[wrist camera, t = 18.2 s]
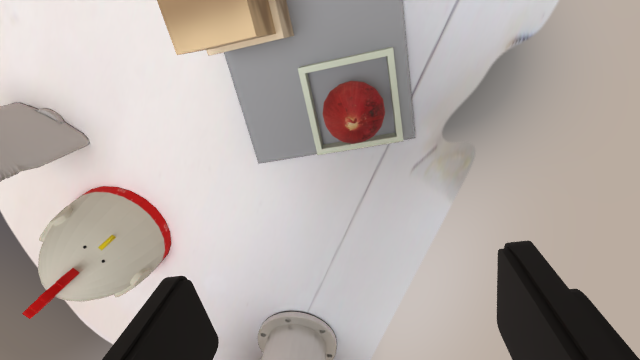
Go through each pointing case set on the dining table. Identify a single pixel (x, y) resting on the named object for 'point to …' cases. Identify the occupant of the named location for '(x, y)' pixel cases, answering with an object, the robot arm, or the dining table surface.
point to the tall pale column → (34, 138)
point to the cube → (215, 22)
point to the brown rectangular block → (282, 31)
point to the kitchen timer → (100, 247)
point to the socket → (340, 62)
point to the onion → (353, 112)
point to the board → (319, 72)
